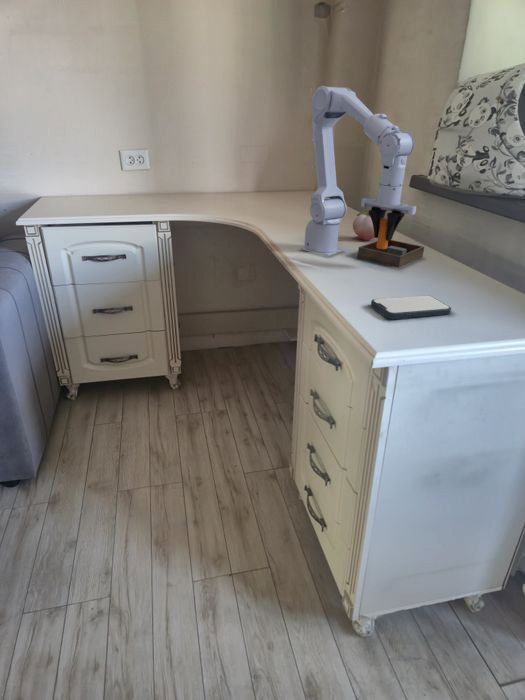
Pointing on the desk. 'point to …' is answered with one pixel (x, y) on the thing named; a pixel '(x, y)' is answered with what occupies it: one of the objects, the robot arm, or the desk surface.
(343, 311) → the desk surface
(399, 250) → the eraser
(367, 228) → the decorative fruit
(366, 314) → the desk surface
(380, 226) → the glue stick
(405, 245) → the box
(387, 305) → the phone case
